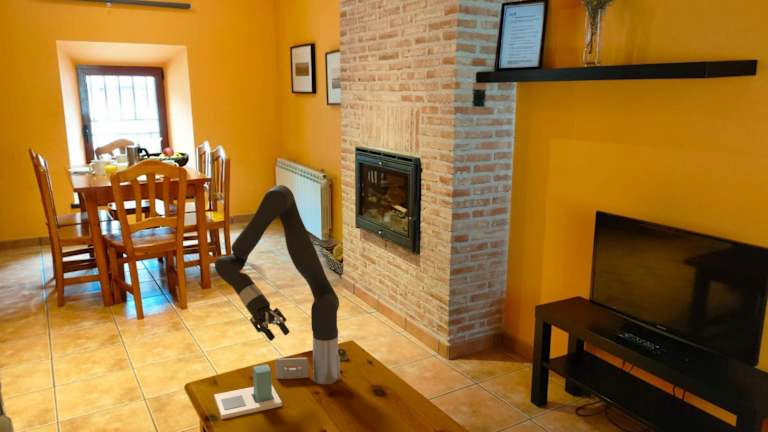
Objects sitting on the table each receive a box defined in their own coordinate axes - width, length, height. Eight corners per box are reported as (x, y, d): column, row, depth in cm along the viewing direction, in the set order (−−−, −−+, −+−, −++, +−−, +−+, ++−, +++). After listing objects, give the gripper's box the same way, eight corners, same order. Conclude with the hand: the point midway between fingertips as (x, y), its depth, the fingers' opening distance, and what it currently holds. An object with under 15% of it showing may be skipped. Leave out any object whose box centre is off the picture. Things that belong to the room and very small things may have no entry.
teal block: (268, 395, 202) (267, 364, 200) (271, 402, 198) (271, 370, 195) (254, 398, 200) (253, 366, 198) (257, 405, 196) (256, 373, 193)
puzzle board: (271, 387, 208) (271, 382, 208) (281, 406, 196) (281, 401, 195) (214, 398, 200) (214, 394, 199) (221, 419, 187) (221, 414, 187)
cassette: (275, 379, 214) (275, 360, 212) (276, 377, 216) (275, 358, 214) (308, 378, 215) (308, 359, 214) (308, 375, 217) (308, 356, 216)
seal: (308, 362, 230) (345, 365, 228) (308, 352, 229) (345, 355, 226) (315, 350, 239) (350, 353, 237) (315, 340, 238) (350, 343, 235)
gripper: (247, 297, 197) (274, 334, 193) (272, 290, 210) (298, 325, 206) (235, 310, 200) (261, 347, 195) (260, 303, 213) (286, 338, 208)
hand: (280, 336), depth 201 cm, fingers open, 8 cm apart
